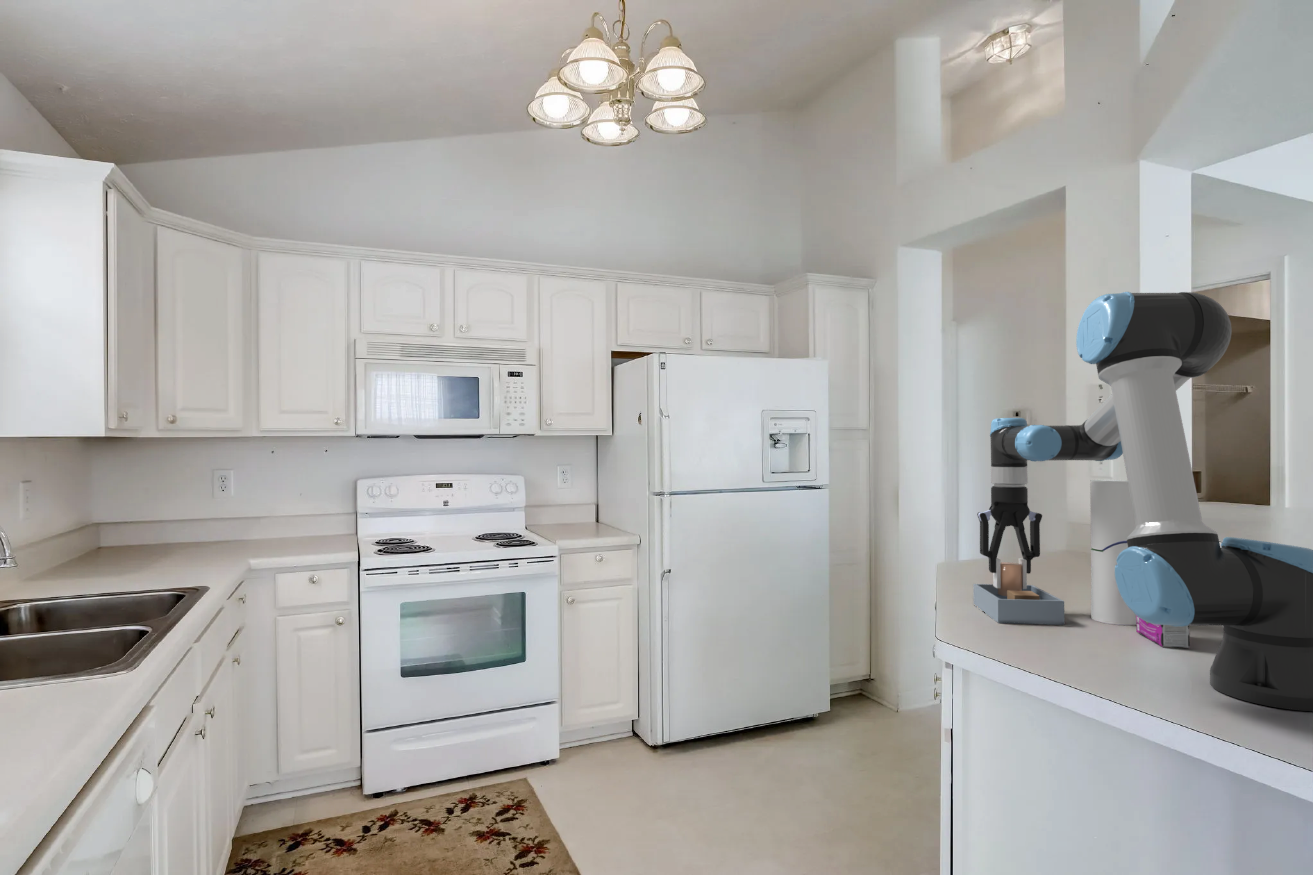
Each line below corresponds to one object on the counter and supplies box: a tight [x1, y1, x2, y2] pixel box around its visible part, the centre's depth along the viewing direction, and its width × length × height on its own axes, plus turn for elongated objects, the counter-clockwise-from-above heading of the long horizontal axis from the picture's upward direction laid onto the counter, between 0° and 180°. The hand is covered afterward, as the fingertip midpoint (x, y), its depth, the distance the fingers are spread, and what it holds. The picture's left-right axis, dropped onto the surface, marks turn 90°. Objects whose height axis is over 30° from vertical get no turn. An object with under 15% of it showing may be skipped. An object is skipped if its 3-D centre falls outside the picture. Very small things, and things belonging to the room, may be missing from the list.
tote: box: [972, 583, 1065, 626], centre depth 161 cm, size 17×13×5 cm
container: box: [1089, 479, 1136, 626], centre depth 155 cm, size 9×9×30 cm
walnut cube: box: [1007, 590, 1040, 600], centre depth 157 cm, size 5×5×5 cm
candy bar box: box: [1135, 615, 1191, 649], centre depth 139 cm, size 11×5×16 cm, turn 168°
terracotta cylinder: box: [998, 561, 1022, 596], centre depth 165 cm, size 5×5×7 cm
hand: (1009, 587), depth 165 cm, fingers closed on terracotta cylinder, 5 cm apart
